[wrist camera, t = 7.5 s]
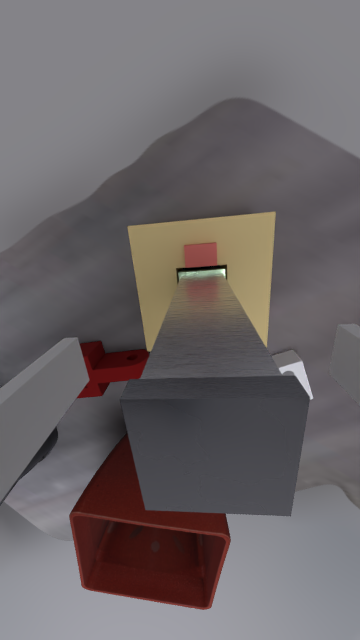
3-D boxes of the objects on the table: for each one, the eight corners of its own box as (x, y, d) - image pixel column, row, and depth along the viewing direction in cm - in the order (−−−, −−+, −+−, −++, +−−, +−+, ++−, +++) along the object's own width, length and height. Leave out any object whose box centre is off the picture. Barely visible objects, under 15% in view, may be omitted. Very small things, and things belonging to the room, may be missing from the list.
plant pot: (116, 406, 41) (66, 514, 25) (219, 419, 40) (232, 538, 24) (119, 474, 48) (81, 590, 32) (206, 486, 47) (210, 611, 32)
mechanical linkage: (72, 380, 40) (55, 400, 35) (57, 345, 37) (37, 362, 33) (157, 371, 38) (151, 391, 33) (148, 334, 35) (140, 349, 30)
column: (183, 306, 26) (142, 511, 7) (180, 268, 25) (114, 396, 5) (222, 304, 26) (293, 518, 7) (222, 264, 24) (315, 393, 5)
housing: (158, 325, 34) (144, 358, 25) (145, 227, 29) (122, 225, 20) (251, 320, 33) (271, 354, 24) (254, 217, 27) (281, 209, 19)
